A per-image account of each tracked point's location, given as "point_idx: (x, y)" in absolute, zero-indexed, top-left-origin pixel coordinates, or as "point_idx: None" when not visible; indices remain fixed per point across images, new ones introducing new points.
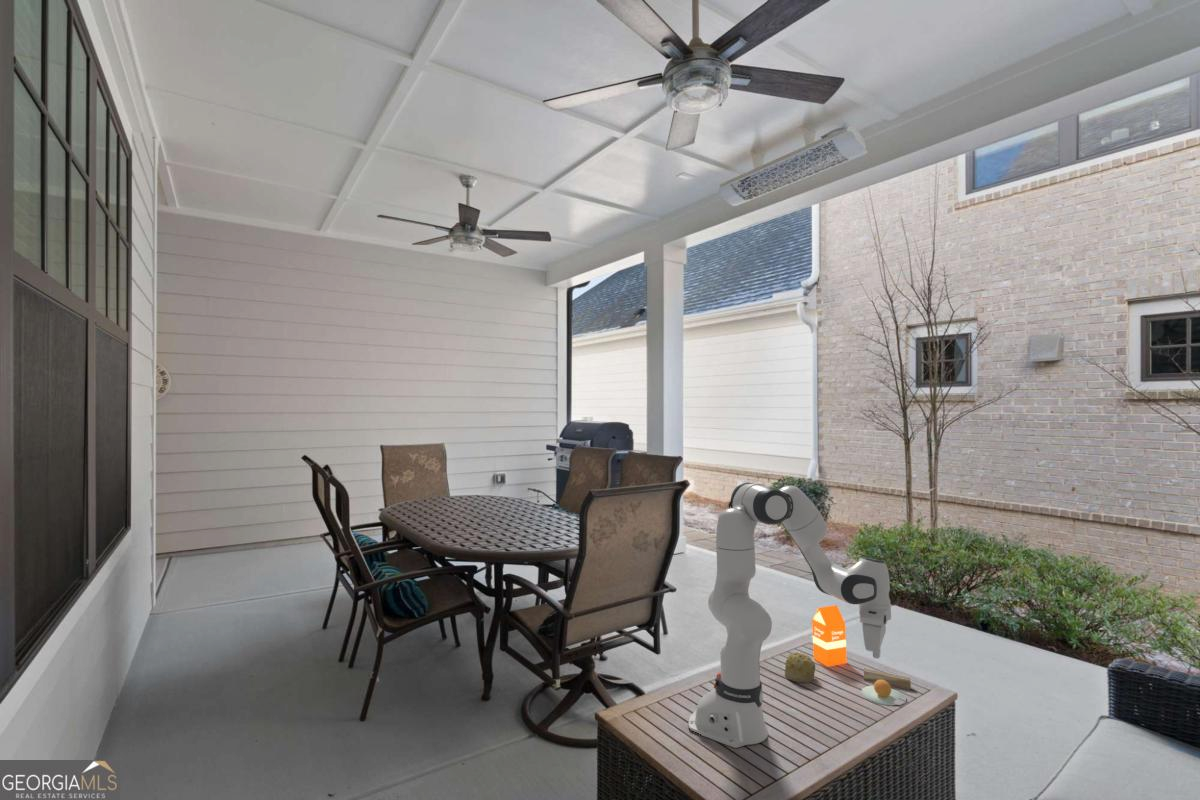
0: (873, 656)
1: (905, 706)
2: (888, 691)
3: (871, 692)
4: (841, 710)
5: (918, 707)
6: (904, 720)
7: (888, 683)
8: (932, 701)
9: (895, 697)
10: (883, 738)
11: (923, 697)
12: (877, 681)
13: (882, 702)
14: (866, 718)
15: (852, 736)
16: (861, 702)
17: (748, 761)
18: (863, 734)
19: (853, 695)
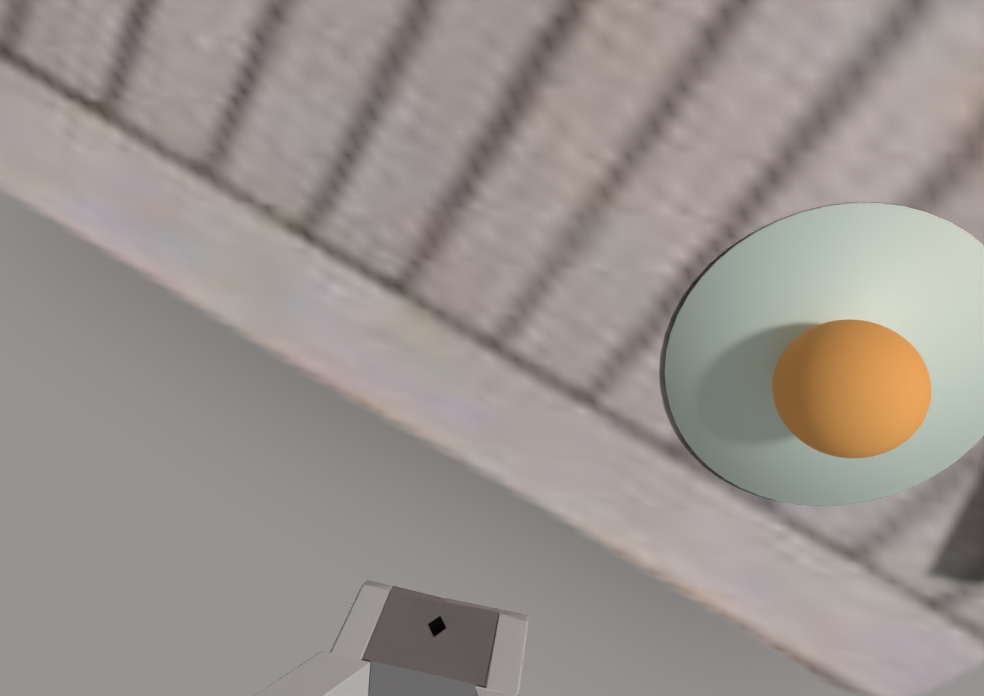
0: (364, 590)
1: (692, 479)
2: (785, 424)
3: (864, 283)
4: (446, 37)
5: (704, 546)
6: (487, 446)
7: (860, 456)
8: (823, 632)
9: None
10: (207, 311)
11: (875, 599)
12: (862, 376)
13: (694, 349)
14: (405, 225)
15: (120, 130)
16: (654, 197)
17: None
18: (184, 199)
19: (773, 132)
